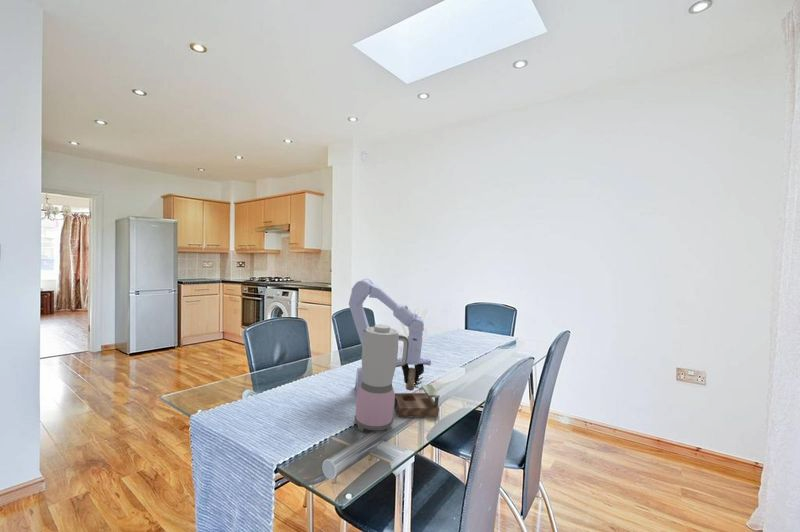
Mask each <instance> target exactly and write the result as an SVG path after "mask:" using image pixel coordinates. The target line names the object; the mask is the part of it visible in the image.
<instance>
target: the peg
mask: <svg viewBox="0 0 800 532" xmlns="http://www.w3.org/2000/svg"><path fill="white" fill-rule="evenodd" d="M409 368H410V369H409V373H408V382H407V383H405V389H406V391H409V392H410V391H414V390H415V385H414V383H415V373H416V369H415V367H409Z"/></svg>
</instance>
